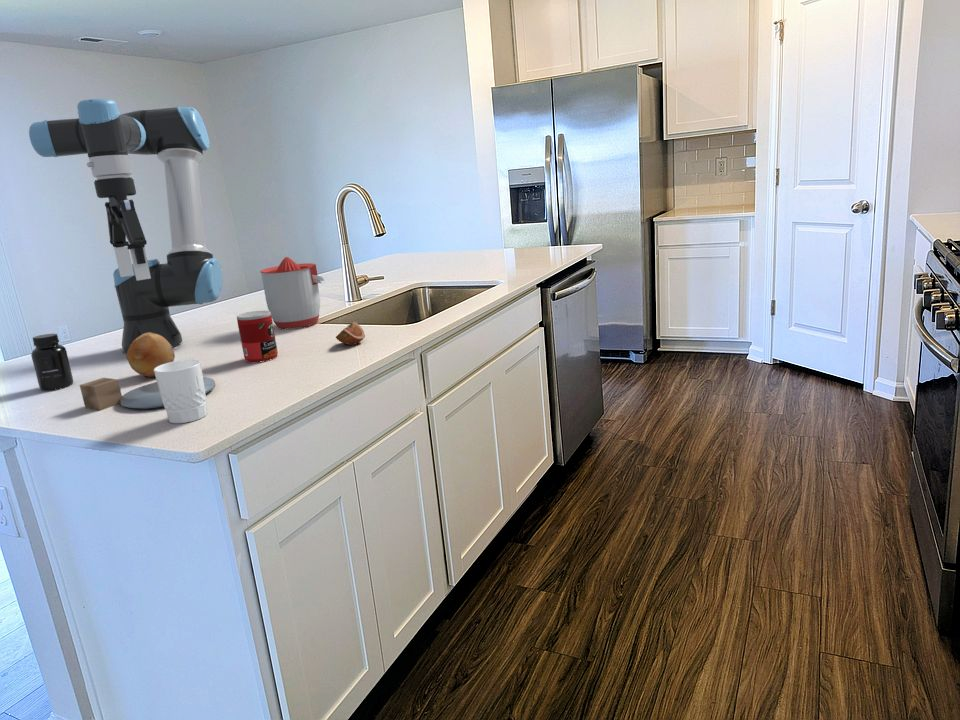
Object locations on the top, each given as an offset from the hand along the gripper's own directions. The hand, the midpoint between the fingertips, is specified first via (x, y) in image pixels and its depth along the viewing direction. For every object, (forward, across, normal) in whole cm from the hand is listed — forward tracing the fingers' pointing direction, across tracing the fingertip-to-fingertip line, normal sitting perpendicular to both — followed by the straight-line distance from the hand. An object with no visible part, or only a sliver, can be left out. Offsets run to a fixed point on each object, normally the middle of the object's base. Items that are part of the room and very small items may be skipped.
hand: (135, 277), depth 151 cm
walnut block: (+23, +12, -14) cm, 29 cm away
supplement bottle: (+23, -15, -18) cm, 33 cm away
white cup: (+23, +36, -4) cm, 43 cm away
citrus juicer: (+23, -22, +46) cm, 56 cm away
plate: (+23, +18, -3) cm, 29 cm away
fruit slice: (+23, +14, +42) cm, 50 cm away
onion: (+23, -3, 0) cm, 23 cm away
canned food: (+23, +6, +22) cm, 33 cm away
